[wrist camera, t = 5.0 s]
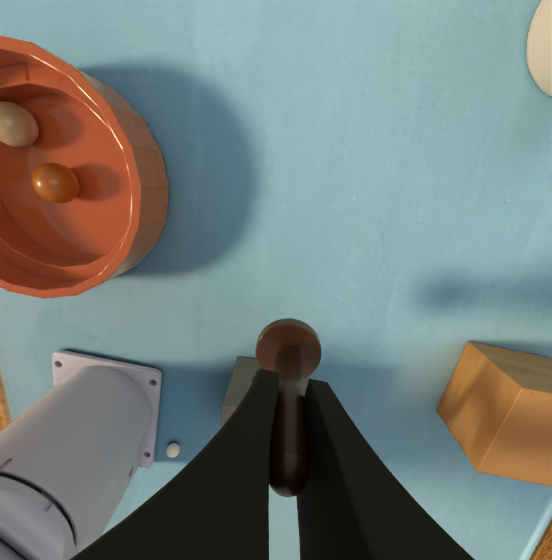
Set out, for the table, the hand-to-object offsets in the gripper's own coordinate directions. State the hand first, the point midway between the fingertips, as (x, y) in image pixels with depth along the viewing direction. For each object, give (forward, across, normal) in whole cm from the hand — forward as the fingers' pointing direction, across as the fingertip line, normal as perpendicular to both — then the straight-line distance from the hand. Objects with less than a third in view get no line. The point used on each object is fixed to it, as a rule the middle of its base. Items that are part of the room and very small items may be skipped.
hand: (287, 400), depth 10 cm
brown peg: (+3, 0, 0) cm, 3 cm away
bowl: (+10, +14, -4) cm, 18 cm away
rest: (+10, -16, +4) cm, 19 cm away
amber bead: (+10, +14, -4) cm, 18 cm away
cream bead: (+10, +17, -7) cm, 21 cm away
